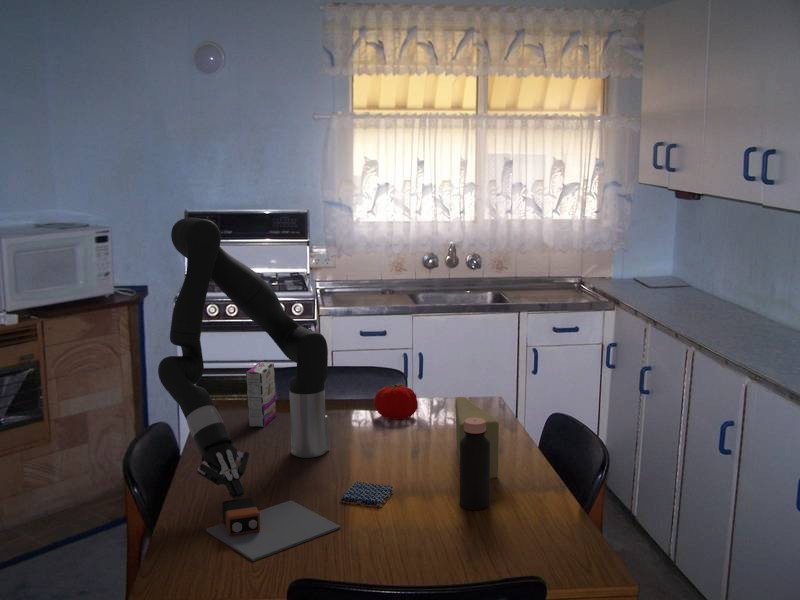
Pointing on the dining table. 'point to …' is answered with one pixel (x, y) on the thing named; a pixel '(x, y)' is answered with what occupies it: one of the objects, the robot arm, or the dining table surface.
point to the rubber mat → (276, 530)
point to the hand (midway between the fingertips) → (239, 496)
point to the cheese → (492, 433)
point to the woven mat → (367, 494)
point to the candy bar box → (261, 394)
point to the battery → (241, 516)
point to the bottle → (474, 465)
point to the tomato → (396, 402)
